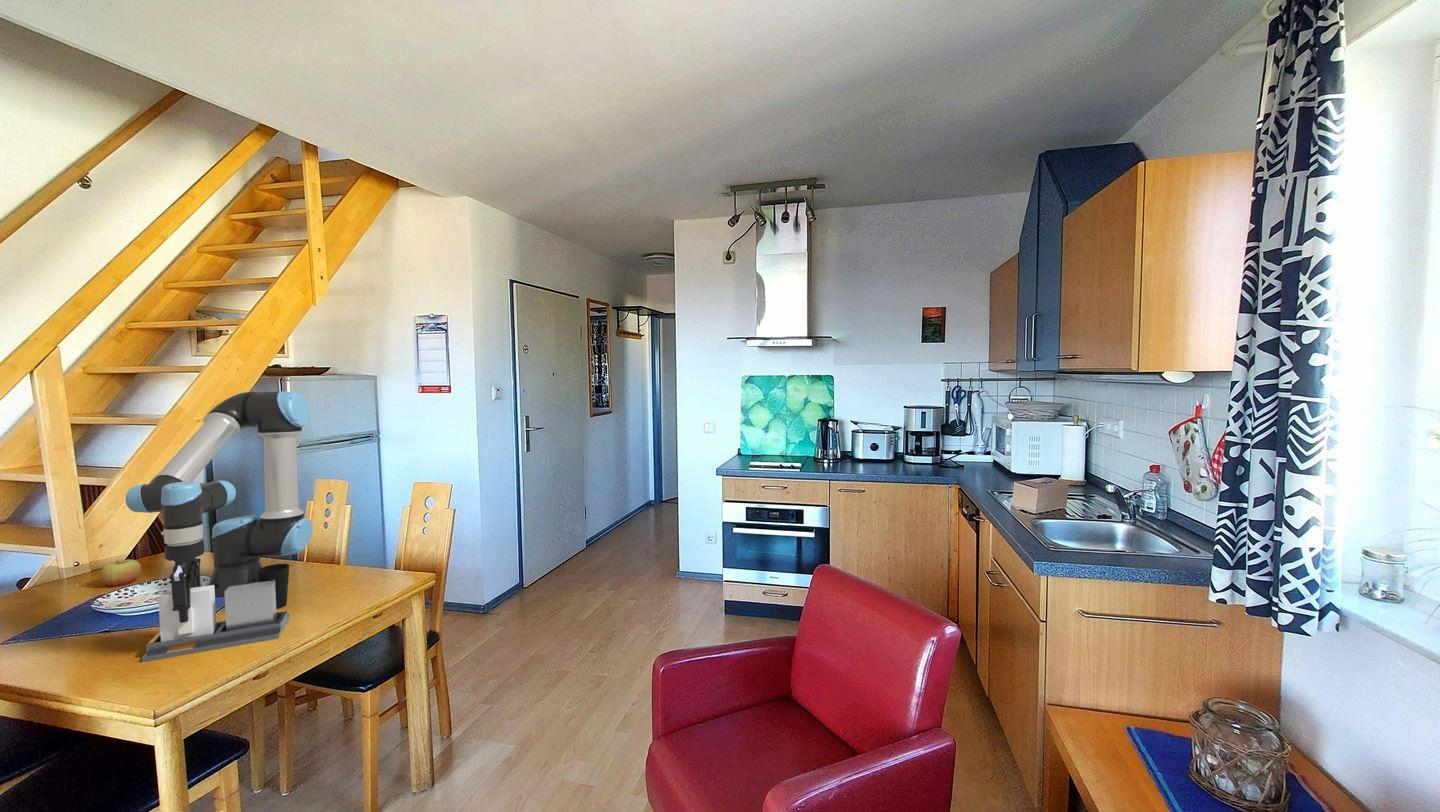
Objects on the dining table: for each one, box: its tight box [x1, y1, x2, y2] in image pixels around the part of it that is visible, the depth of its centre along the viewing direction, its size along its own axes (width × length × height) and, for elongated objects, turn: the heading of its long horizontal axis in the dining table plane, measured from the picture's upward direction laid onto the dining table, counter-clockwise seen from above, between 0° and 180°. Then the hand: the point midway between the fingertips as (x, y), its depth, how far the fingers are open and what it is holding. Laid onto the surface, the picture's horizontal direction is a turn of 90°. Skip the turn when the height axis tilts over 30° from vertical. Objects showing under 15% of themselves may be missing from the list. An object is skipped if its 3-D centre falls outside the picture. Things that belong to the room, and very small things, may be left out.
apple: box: [99, 559, 142, 587], centre depth 191 cm, size 10×10×8 cm
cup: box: [257, 563, 290, 610], centre depth 173 cm, size 8×8×12 cm
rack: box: [141, 580, 290, 663], centre depth 152 cm, size 14×27×13 cm, turn 118°
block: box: [157, 585, 217, 642], centre depth 149 cm, size 4×10×12 cm, turn 118°
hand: (189, 629), depth 149 cm, fingers closed on block, 4 cm apart
